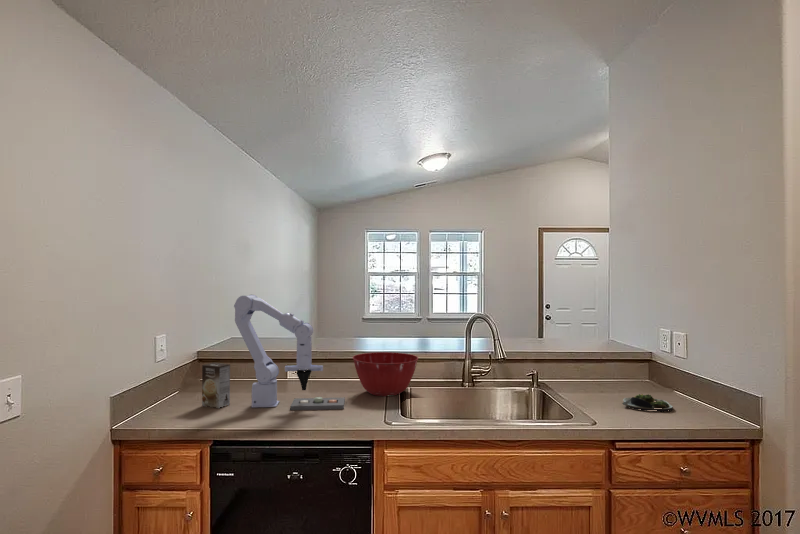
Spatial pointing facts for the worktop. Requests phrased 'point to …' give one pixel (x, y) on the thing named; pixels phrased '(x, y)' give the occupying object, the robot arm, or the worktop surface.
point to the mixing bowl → (385, 372)
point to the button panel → (317, 404)
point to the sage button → (318, 400)
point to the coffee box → (216, 384)
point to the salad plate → (646, 403)
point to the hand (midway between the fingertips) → (304, 389)
